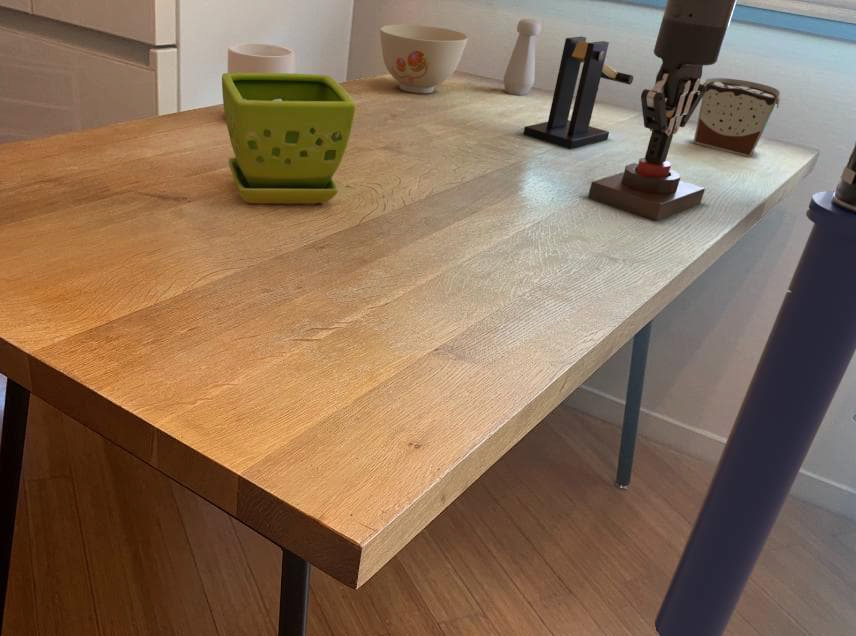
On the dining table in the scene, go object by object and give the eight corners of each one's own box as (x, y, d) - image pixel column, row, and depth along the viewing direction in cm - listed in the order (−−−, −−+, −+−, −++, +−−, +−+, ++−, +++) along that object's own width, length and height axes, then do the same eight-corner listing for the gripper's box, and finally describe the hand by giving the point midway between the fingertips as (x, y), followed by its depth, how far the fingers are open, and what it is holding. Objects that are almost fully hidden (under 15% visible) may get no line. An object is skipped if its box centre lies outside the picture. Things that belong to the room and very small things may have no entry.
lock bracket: (560, 126, 146) (581, 32, 139) (607, 139, 141) (631, 43, 133) (522, 134, 140) (542, 36, 132) (570, 149, 134) (593, 48, 127)
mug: (262, 131, 130) (265, 59, 124) (213, 117, 134) (214, 47, 129) (313, 119, 138) (318, 50, 133) (265, 105, 143) (268, 39, 138)
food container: (771, 152, 142) (794, 89, 137) (759, 159, 138) (782, 94, 132) (698, 135, 148) (716, 74, 143) (684, 140, 144) (703, 78, 139)
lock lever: (597, 80, 145) (603, 66, 145) (629, 88, 142) (635, 74, 141) (561, 53, 135) (567, 38, 134) (594, 61, 131) (601, 45, 130)
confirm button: (645, 168, 116) (649, 155, 115) (673, 177, 113) (677, 163, 112) (630, 173, 113) (633, 160, 112) (658, 181, 111) (661, 168, 110)
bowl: (357, 86, 161) (362, 28, 156) (406, 76, 172) (412, 22, 166) (428, 104, 153) (436, 44, 147) (475, 93, 163) (484, 36, 158)
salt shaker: (529, 97, 163) (543, 23, 156) (499, 93, 165) (512, 19, 158) (533, 91, 168) (548, 19, 161) (504, 87, 170) (517, 15, 163)
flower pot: (218, 173, 111) (220, 70, 105) (323, 174, 114) (331, 74, 108) (232, 211, 100) (234, 98, 93) (348, 211, 103) (359, 102, 96)
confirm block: (633, 183, 122) (641, 154, 119) (700, 204, 116) (709, 174, 114) (587, 197, 114) (594, 167, 112) (656, 221, 108) (665, 190, 106)
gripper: (700, 26, 97) (655, 178, 106) (750, 21, 105) (704, 162, 114) (640, 14, 101) (602, 161, 110) (692, 10, 109) (653, 147, 118)
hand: (654, 161), depth 112 cm, fingers closed
